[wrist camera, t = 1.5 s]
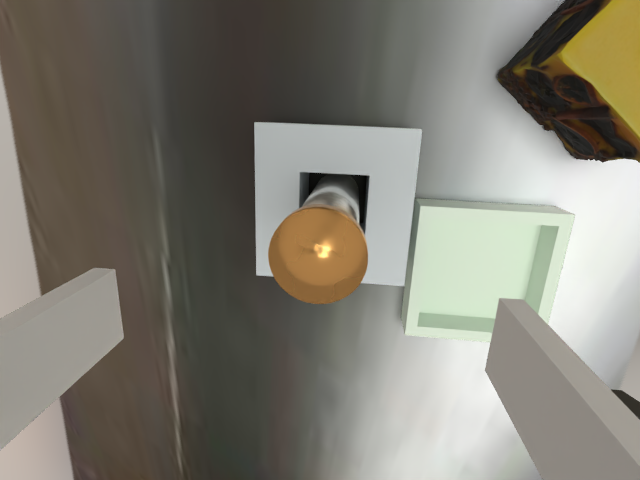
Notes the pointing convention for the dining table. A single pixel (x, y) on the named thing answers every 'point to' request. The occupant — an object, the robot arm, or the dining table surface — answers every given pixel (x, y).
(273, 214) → the block
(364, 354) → the dining table surface
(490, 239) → the tray
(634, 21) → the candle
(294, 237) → the pin
